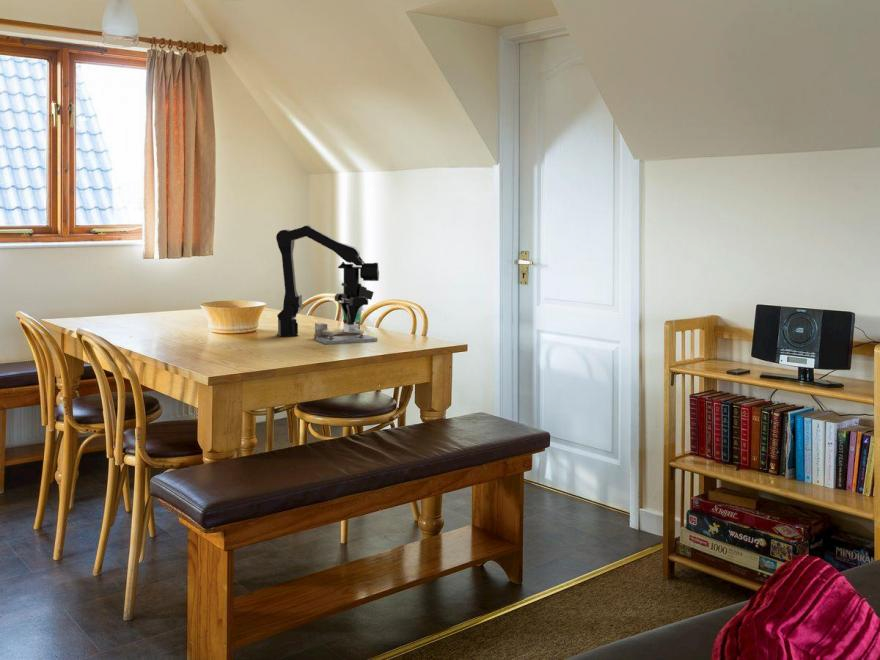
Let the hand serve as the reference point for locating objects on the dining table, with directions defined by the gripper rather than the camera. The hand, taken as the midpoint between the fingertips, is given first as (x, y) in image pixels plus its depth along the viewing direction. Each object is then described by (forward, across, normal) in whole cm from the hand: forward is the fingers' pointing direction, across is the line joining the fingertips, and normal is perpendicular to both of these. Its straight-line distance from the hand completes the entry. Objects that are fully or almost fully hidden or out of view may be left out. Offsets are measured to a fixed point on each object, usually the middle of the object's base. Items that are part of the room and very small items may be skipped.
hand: (351, 322), depth 341 cm
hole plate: (+6, -10, +6) cm, 13 cm away
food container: (+6, +18, -9) cm, 21 cm away
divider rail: (+6, -4, +5) cm, 8 cm away
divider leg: (+4, -4, 0) cm, 6 cm away
